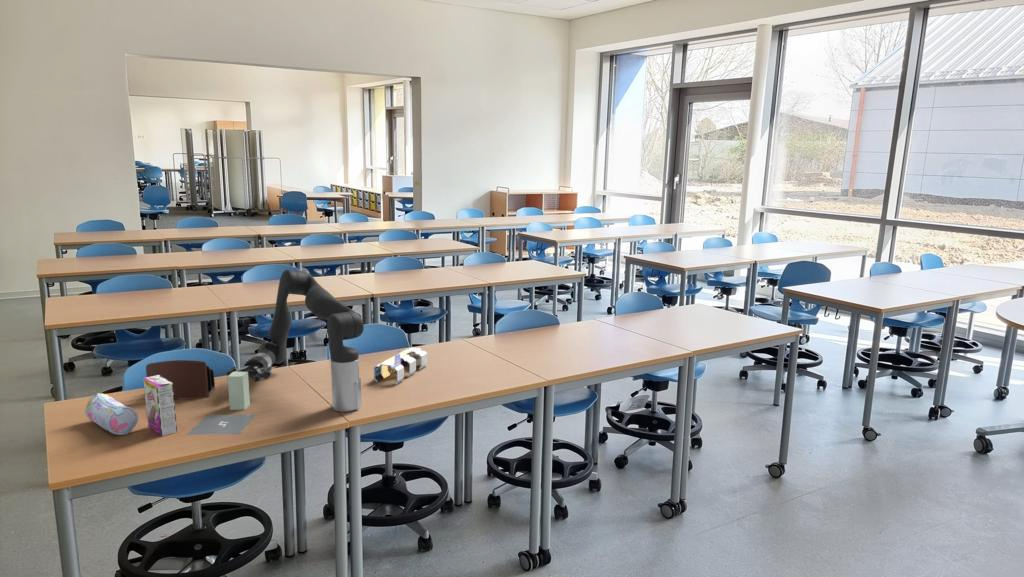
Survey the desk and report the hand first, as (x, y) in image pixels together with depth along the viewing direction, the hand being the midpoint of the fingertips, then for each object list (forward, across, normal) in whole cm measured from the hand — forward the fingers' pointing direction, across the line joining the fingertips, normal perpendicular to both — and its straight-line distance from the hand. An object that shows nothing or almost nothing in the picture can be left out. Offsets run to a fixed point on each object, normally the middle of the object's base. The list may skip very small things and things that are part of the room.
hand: (242, 379), depth 226 cm
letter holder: (-9, -25, +9) cm, 28 cm away
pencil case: (+20, -34, +9) cm, 40 cm away
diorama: (-32, +51, +9) cm, 61 cm away
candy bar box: (+23, -17, +9) cm, 30 cm away
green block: (+4, 0, +8) cm, 10 cm away
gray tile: (+19, 0, +8) cm, 21 cm away
